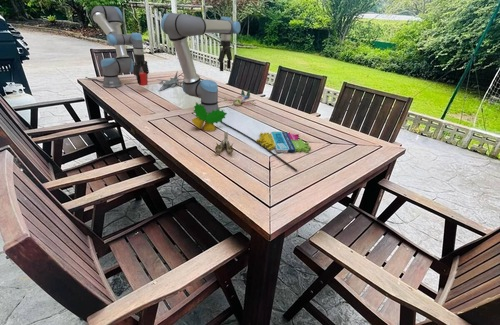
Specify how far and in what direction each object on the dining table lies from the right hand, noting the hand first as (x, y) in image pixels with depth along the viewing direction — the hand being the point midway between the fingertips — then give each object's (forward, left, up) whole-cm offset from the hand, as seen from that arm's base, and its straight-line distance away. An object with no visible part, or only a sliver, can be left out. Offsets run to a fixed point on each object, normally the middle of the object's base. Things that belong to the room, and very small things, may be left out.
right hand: (225, 69), depth 207 cm
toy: (-3, -14, -25) cm, 29 cm away
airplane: (+52, +42, -25) cm, 72 cm away
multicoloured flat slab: (-86, -18, -25) cm, 91 cm away
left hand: (+29, +66, -17) cm, 74 cm away
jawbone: (-92, +18, -25) cm, 97 cm away
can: (+29, +66, -18) cm, 74 cm away
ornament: (-59, +21, -25) cm, 68 cm away
